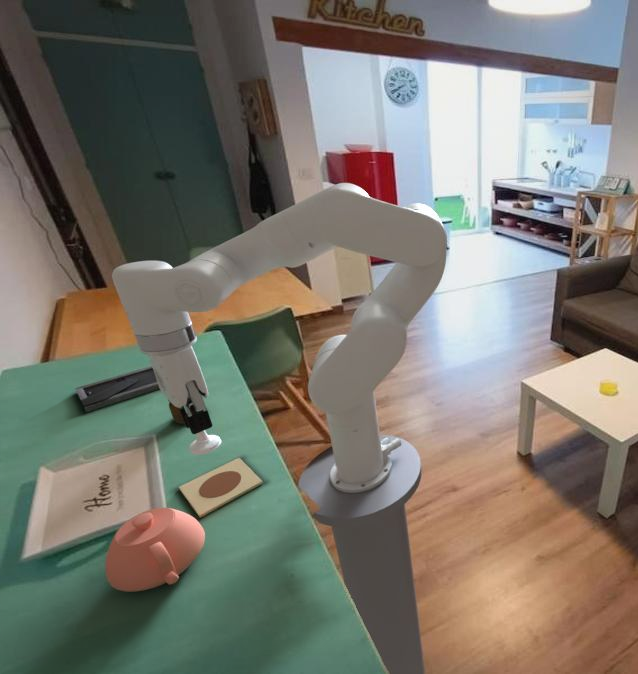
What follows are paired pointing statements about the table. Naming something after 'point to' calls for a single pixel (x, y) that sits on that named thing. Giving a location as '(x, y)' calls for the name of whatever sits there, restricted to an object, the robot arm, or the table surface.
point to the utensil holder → (176, 413)
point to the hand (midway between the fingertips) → (199, 426)
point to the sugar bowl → (153, 549)
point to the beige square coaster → (219, 486)
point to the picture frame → (117, 388)
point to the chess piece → (204, 443)
